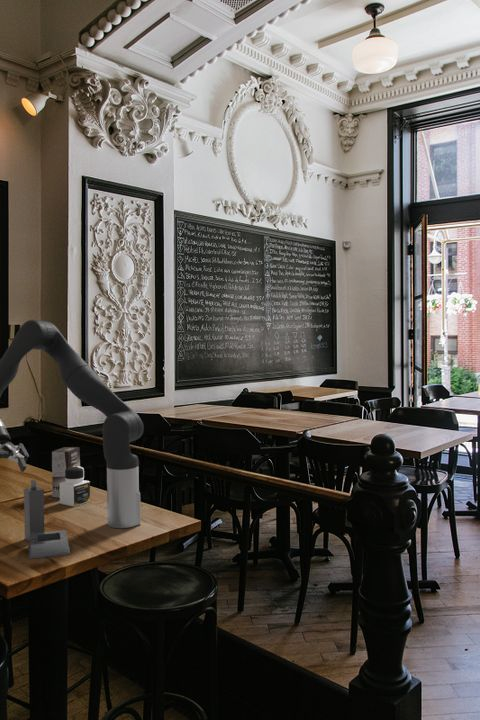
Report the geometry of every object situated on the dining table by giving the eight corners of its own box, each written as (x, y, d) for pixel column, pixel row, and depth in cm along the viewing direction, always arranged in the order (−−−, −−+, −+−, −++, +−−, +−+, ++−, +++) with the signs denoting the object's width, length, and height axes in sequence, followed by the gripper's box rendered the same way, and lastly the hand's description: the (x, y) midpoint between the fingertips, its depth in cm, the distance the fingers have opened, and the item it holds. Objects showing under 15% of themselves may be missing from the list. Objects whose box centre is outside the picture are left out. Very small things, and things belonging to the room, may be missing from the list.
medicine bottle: (74, 507, 195) (73, 470, 194) (59, 503, 198) (58, 468, 198) (90, 501, 201) (90, 466, 200) (75, 498, 204) (75, 464, 204)
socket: (67, 541, 162) (67, 529, 162) (70, 554, 153) (70, 541, 153) (28, 545, 159) (28, 533, 159) (28, 559, 149) (28, 545, 149)
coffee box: (68, 498, 205) (68, 451, 204) (51, 497, 206) (50, 451, 206) (81, 491, 214) (80, 446, 213) (64, 490, 215) (63, 446, 215)
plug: (39, 535, 167) (38, 477, 166) (44, 539, 164) (43, 480, 163) (24, 539, 164) (23, 480, 164) (30, 542, 161) (29, 483, 161)
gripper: (-26, 424, 180) (-10, 461, 170) (20, 424, 190) (37, 460, 180) (-33, 443, 182) (-19, 480, 173) (12, 442, 192) (28, 478, 183)
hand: (10, 470), depth 176 cm, fingers open, 8 cm apart
